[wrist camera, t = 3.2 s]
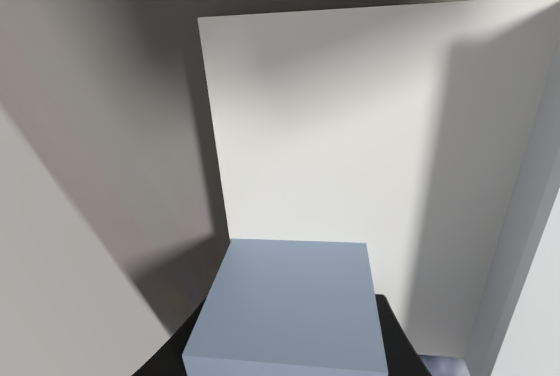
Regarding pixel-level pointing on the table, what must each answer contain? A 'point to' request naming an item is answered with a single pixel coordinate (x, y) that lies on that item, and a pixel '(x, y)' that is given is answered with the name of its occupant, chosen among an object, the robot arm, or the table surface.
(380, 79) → the rail board
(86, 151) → the table surface
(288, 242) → the block
